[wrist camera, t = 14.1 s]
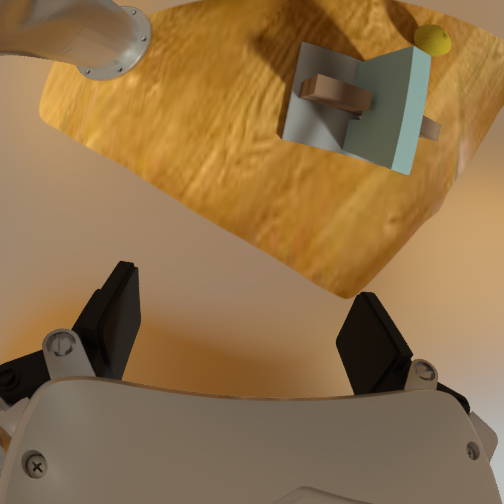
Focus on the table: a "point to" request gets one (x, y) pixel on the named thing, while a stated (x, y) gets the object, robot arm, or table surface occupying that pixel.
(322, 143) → the base
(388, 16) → the table surface
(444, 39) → the lemon
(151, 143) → the table surface
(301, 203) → the table surface
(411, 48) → the notched plate
